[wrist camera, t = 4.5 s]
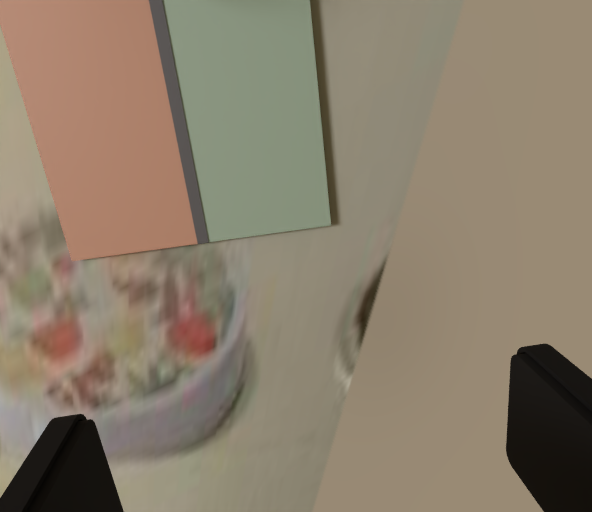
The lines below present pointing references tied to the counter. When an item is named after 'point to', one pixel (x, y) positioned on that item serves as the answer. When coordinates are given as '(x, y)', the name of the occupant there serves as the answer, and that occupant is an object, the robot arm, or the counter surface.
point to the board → (172, 118)
